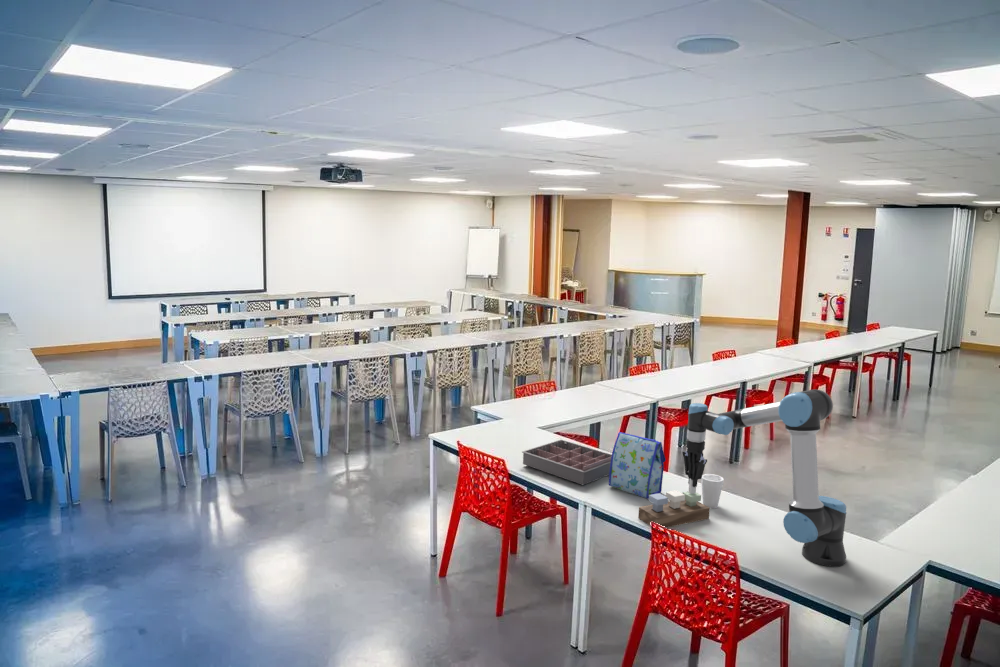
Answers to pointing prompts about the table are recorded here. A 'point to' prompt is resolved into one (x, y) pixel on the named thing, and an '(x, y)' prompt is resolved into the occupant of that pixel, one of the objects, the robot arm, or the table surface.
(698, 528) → the table surface
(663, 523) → the wooden socket block
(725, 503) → the table surface
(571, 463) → the organizer tray
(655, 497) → the slate key
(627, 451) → the lunch bag
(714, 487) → the foam cup
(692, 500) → the sage key
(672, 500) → the cream key
